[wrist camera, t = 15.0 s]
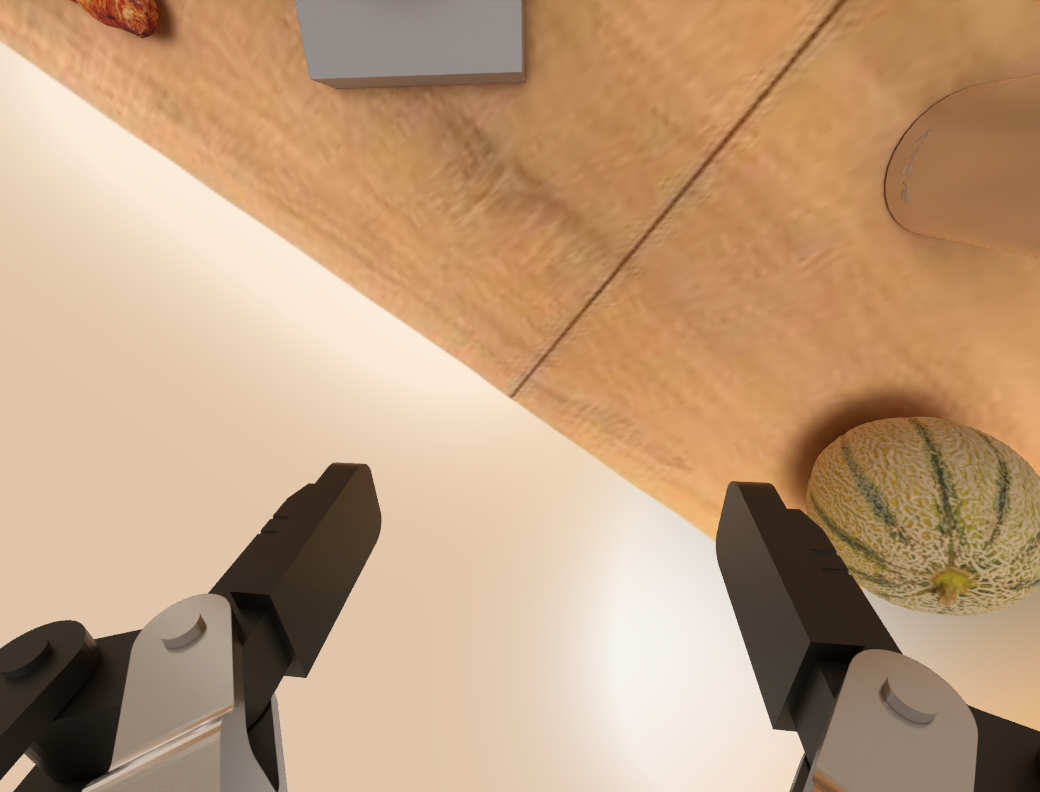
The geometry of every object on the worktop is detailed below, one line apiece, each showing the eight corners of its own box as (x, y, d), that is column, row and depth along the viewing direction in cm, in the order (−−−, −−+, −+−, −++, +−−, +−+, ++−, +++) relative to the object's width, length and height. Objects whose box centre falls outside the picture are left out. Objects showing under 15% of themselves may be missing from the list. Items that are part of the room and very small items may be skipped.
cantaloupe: (976, 466, 42) (1177, 608, 28) (821, 540, 47) (929, 691, 33) (910, 351, 37) (1110, 455, 24) (746, 447, 42) (836, 578, 29)
